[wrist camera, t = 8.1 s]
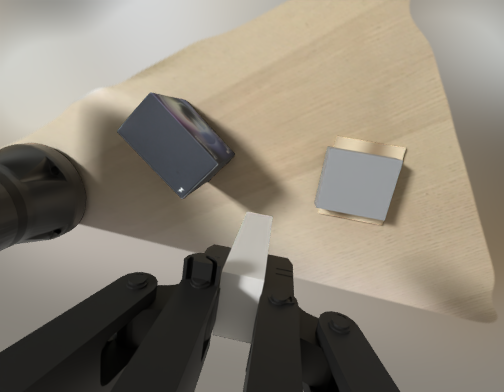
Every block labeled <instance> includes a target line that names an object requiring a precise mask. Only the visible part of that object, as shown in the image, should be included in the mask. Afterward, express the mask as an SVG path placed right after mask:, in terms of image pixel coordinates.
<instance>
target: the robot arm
mask: <svg viewBox="0 0 504 392" xmlns="http://www.w3.org/2000/svg"><path fill="white" fill-rule="evenodd" d="M85 206H86V195H85V189H84V185H83V182H82V180H81V178H80V176H79V174H78V172H77V170H76V169H75V168H74V166H73V165H72V164H71V163H70V161H69V160H68V159H67V158H66V157H64V156H63V155H62V154H61V153H59V152H58V151H56V150H54V149H53V148H51V147H48V146H46V145H42V144H37V143H25V144H15V145H11V146H7V147H4V148H2V149H0V251H1V250H3V249H5V248H8V247H10V246H12V245H14V244H20V243H28V242H36V241H43V240H49V239H54V238H56V237H59V236H60V235H63V234H65V233H67V232H69V231H70V230H72V229H73V228H75V227H76V226H77V225H78V223H79V222H80V220H81V219H82V217H83V214H84V211H85ZM272 220H273V216H268V215H263V214H258V213H252V212H247V213H246V215H245V217H244V220H243V222H242V225H241V227H240V229H239V232H238V234H237V236H236V239H235V241H234V244H233V246H232V248H229V247H224V246H219V245H215V244H214V245H213V246H211V247H209V248H207V250H206V252H205V253H196V254H192V255H188V256H187V257H186V258H184V266H183V276H182V280H181V282H180V283H179V284H176V285H157V282H158V281H157V279H156V277H154V276H153V275H151V274H148V273H143V272H135V273H131V274H127V275H125V276H122V277H121V278H119V279H117V280H116V281H114V282H113V283H111V284H110V285H108V286H106V287H105V288H103V289H101V290H100V291H98V292H96V293H95V294H93V295H92V296H90V297H89V298H87V299H85V300H84V301H82V302H80V303H79V304H77V305H76V306H74V307H73V308H71V309H69V310H68V311H66V312H64V313H63V314H62V315H59V316H58V317H56V318H55V319H53V320H51V321H50V322H48V323H47V324H45V325H43V326H42V327H40V328H39V329H37V330H35V331H34V332H32V333H31V334H29V335H27V336H26V337H24V338H23V339H21V340H19V341H18V342H16V343H15V344H13V345H11V346H10V347H8V348H6V349H5V350H3V351H2V352H0V392H194V390H195V388H196V385H197V382H198V378H199V376H200V372H201V370H202V366H203V364H204V361H205V358H206V355H207V351H208V349H209V345H210V338H211V333H212V330H213V335H215V336H220V337H224V338H229V339H233V340H238V341H242V342H246V343H251V347H250V352H249V357H248V362H247V368H246V376H245V382H244V388H243V392H303V391H304V392H400V391H399V389H398V387H397V386H396V384H395V383H394V381H393V380H392V378H391V377H390V375H389V373H388V372H387V371H386V369H385V367H384V366H383V364H382V363H381V361H380V359H379V358H378V356H377V355H376V353H375V352H374V350H373V349H372V347H371V345H370V344H369V342H368V341H367V339H366V338H365V336H364V335H363V333H362V331H361V330H360V328H359V327H358V325H357V324H356V323H355V322H354V321H353V320H351V319H350V318H349V317H347V316H345V315H343V314H341V313H338V312H332V311H331V312H324V313H322V314H321V315H320V317H319V318H317V317H314V316H312V315H310V314H308V313H306V312H305V311H303V310H302V309H301V308H300V307H299V306H298V302H297V300H296V298H295V297H294V286H293V265H292V263H291V262H290V261H289V259H288V258H283V257H278V256H273V255H268V249H269V242H270V234H271V227H272ZM213 327H214V328H213Z"/></svg>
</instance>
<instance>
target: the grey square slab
mask: <svg viewBox="0 0 504 392" xmlns="http://www.w3.org/2000/svg"><path fill="white" fill-rule="evenodd" d="M402 163H403V161H402V160H400V159H397V158H393V157H387V156H381V155H375V154H370V153H364V152H358V151H352V150H347V149H341V148H335V147H329V146H328V147H327V151H326V155H325V160H324V164H323V168H322V172H321V177H320V181H319V185H318V189H317V194H316V198H315V206H316V208H321V209H326V210H331V211H336V212H342V213H347V214H352V215H357V216H362V217H368V218H373V219H378V220H383V221H385V218H386V214H387V211H388V208H389V205H390V202H391V198H392V195H393V192H394V189H395V186H396V182H397V179H398V176H399V173H400V170H401V167H402Z"/></svg>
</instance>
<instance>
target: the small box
mask: <svg viewBox="0 0 504 392" xmlns="http://www.w3.org/2000/svg"><path fill="white" fill-rule="evenodd" d="M117 132H118V133H119V134H120V135H121V137H122V138H123V139H124V140H125V141H126V142H127V143H128V144H129V145H130V146H131V147H132V148H133V149H134V150H135V151H136V152H137V153H138V154H139V155H140V156H141V157H142V158H143V159H144V161H145V162H146V163H147V164H148V165H149V166H150V167H151V168H152V169H153V170H154V171H155V172H156V173H157V174H158V175H159V176H160V177H161V178H162V179H163V180H164V181H165V182H166V183H167V184H168V185H169V186H170V187H171V188H172V189H173V191H175V193H176V194H177V195H178V196H179V197H180V198H181V199H184V198H185V197H186V196H187V195H189V194H190V193H192V192H193V191H195V190H196V189H198V188H199V187H200V186H202V185H203V184H204V183H206V182H209V180H210V179H211V178H212V177H213V176H214V175H215V174H216V173H217V172H218V171H219V170H220V169H221V168H223V166H224V165H225V164H227V163H228V162H229V161H230V160H231V159H232V158H233V157H234V155H235V154H234V152H233V151H232V150H231V149H230V148H229V147H228V146H227V145H226V144H225V143H224V141H223V140H222V139H221V138H220V137H219V136H218V135H217V134H216V133H215V132H214V130H213V129H212V128H211V127H210V126H209V125H208V124H207V123H206V122H205V121H204V120H203V118H202V117H201V116H200V115H199V114H198V113H197V112H196V111H195V110H194V108H193V107H192V106H191V105H190V104H189V103H188V102H187V101H186V100H184V99H179V98H174V97H169V96H164V95H160V94H155V93H152V92H151V93H149V94H148V95H147V97H146V98H145V99H144V100H143V101H142V102H141V103H140V105H139V106H138V107H137V108H136V109H135V110H134V111H133V113H132V114H131V115H130V116H129V117H128V118H127V120H126V121H125V122H124V123H123V124H122V126H121V127H120V128H119V129H118V130H117Z"/></svg>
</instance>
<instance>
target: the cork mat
mask: <svg viewBox="0 0 504 392" xmlns="http://www.w3.org/2000/svg"><path fill="white" fill-rule="evenodd" d="M334 147H335V148H341V149H347V150H352V151H358V152H364V153H370V154H375V155H381V156H387V157H393V158H397V159H400V160H402V159H403V156H404V153H405V150H406V148H405V147H399V146H393V145H387V144H381V143H375V142H369V141H363V140H358V139H352V138H346V137H340V136H336V139H335V143H334ZM318 213H320V214H325V215H331V216H336V217H341V218H346V219H351V220H357V221H362V222H367V223H372V224H377V225H382V223H383V220H378V219H373V218H368V217H362V216H357V215H352V214H347V213H342V212H336V211H331V210H326V209H321V208H319V210H318Z"/></svg>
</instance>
